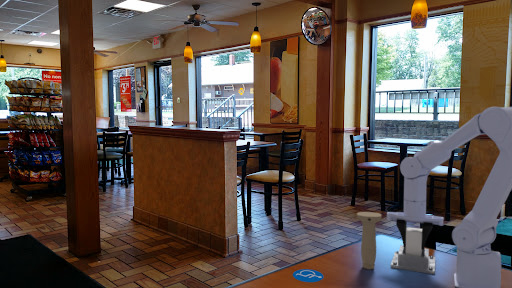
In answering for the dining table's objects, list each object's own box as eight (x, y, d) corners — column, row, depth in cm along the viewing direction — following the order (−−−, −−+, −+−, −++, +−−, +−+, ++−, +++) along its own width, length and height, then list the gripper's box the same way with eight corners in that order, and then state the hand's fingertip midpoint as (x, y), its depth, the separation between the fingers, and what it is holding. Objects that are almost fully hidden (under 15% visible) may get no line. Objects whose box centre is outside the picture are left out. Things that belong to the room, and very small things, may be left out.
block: (421, 253, 109) (422, 228, 108) (421, 257, 105) (421, 232, 105) (406, 250, 111) (407, 227, 110) (405, 255, 107) (406, 231, 106)
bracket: (435, 259, 111) (435, 247, 110) (434, 274, 101) (435, 261, 100) (394, 254, 115) (395, 242, 115) (390, 267, 105) (390, 255, 105)
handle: (381, 272, 102) (382, 217, 101) (356, 270, 104) (357, 215, 103) (380, 265, 107) (380, 212, 106) (356, 263, 109) (356, 211, 107)
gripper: (443, 199, 107) (442, 246, 108) (389, 194, 113) (388, 239, 114) (443, 204, 101) (442, 254, 102) (386, 199, 107) (385, 247, 108)
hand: (413, 247), depth 108 cm, fingers closed on block, 4 cm apart
